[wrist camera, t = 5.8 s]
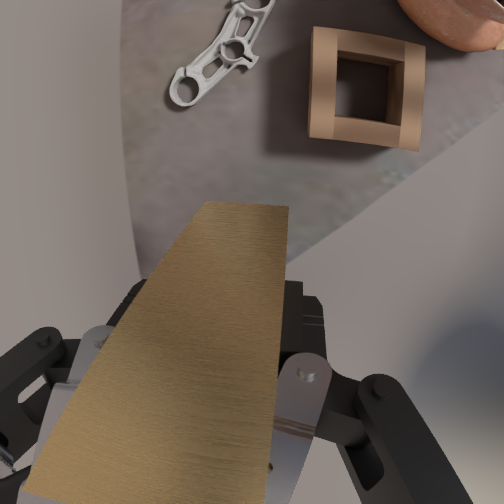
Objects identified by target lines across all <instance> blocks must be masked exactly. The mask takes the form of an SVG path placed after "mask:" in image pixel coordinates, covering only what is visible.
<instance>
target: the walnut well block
mask: <svg viewBox="0 0 504 504" xmlns="http://www.w3.org/2000/svg"><path fill="white" fill-rule="evenodd" d="M337 58H339V59H347V60H354V61H361V62H367V63H373V64H379V65H384V66H389V70H388V92H387V108H386V120H385V122H383V121H377V120H370V119H363V118H355V117H348V116H339V115H335V98H336V76H337ZM424 84H425V46H423V45H419V44H415V43H411V42H407V41H403V40H398V39H394V38H389V37H384V36H379V35H374V34H368V33H363V32H356V31H350V30H342V29H334V28H325V27H315V26H314V27H313V30H312V34H311V38H310V76H309V102H308V122H307V133H308V135H309V137H311V138H322V139H333V140H342V141H351V142H359V143H367V144H374V145H381V146H388V147H394V148H400V149H406V150H412V151H419V143H420V134H421V125H422V114H423V101H424Z"/></svg>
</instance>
